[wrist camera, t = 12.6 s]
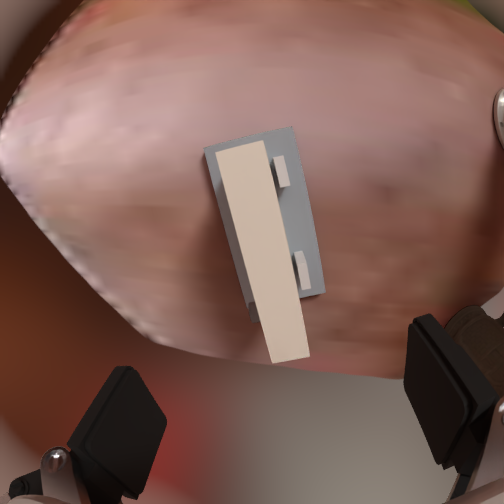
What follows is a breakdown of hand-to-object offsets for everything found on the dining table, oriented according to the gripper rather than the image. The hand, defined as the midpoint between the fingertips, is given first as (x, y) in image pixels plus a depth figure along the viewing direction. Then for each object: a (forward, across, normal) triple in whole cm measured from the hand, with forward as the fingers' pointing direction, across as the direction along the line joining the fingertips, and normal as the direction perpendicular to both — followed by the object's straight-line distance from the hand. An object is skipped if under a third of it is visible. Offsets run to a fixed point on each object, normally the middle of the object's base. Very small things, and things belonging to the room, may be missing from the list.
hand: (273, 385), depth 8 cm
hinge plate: (+26, 0, 0) cm, 26 cm away
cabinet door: (+25, 0, 0) cm, 25 cm away
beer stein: (+27, -30, +24) cm, 47 cm away
